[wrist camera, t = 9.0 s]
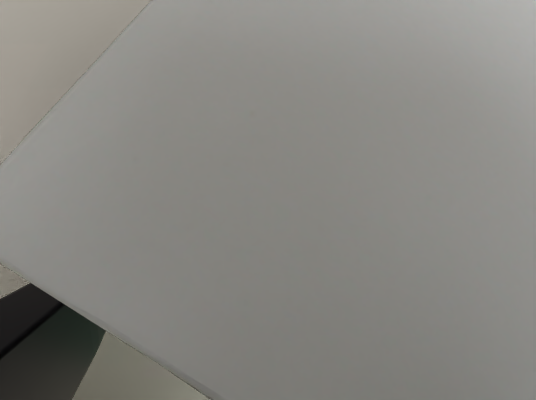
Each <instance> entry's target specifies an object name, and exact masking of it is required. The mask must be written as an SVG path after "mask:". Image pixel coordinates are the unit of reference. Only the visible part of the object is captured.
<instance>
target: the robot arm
mask: <svg viewBox="0 0 536 400" xmlns="http://www.w3.org/2000/svg"><path fill="white" fill-rule="evenodd" d="M105 331H106V330H104V329H103V328H101V327H99V326H98V325H96V324H95V323H93V322H92V321H90V320H88V319H87V318H85V317H84V316H82V315H81V314H79V313H77V312H76V311H74V310H73V309H71V308H70V307H68V306H66V305H65V304H63V303H62V302H60V301H59V300H57V299H55V298H54V297H52V296H51V295H49V294H48V293H46V292H44V291H43V290H41V289H40V288H38V287H37V286H35V285H33V284H32V283H29V284H28V285H26V286H24V287H22V288H20V289H18V290H16V291H14V292H12V293H11V294H9V295H7V296H5V297H3V298H1V299H0V400H72V398H73V396H74V394H75V392H76V390H77V388H78V387H79V385H80V383H81V381H82V379H83V377H84V375H85V373H86V371H87V369H88V367H89V366H90V364H91V362H92V360H93V358H94V356H95V354H96V352H97V350H98V348H99V346H100V343H101V341H102V339H103V336H104V334H105Z"/></svg>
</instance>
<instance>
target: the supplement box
mask: <svg viewBox="0 0 536 400" xmlns="http://www.w3.org/2000/svg"><path fill="white" fill-rule="evenodd" d="M0 263H1V264H2V265H4V266H5V267H7V268H8V269H10V270H11V271H13V272H15V273H16V274H18V275H19V276H21V277H22V278H24V279H25V280H27V281H29V282H30V283H32V284H33V285H35V286H37V287H38V288H40V289H41V290H43V291H44V292H46V293H48V294H49V295H51V296H52V297H54V298H55V299H57V300H59V301H60V302H62V303H63V304H65V305H66V306H68V307H70V308H71V309H73V310H74V311H76V312H77V313H79V314H81V315H82V316H84V317H85V318H87V319H88V320H90V321H92V322H93V323H95V324H96V325H98V326H99V327H101V328H103V329H104V330H106V331H107V332H109V333H110V334H112V335H114V336H115V337H117V338H118V339H120V340H121V341H123V342H125V343H126V344H128V345H129V346H131V347H133V348H134V349H136V350H137V351H139V352H140V353H142V354H144V355H145V356H147V357H148V358H150V359H151V360H153V361H155V362H156V363H158V364H159V365H161V366H162V367H164V368H165V369H167V370H168V371H170V372H171V373H172V374H174V375H175V376H177V377H178V378H180V379H181V380H183V381H184V382H186V383H187V384H189V385H190V386H191V387H193V388H194V389H196V390H197V391H199V392H200V393H202V394H203V395H205V396H206V397H208V398H209V399H210V400H536V0H151V1H150V2H149V3H148V4H147V5H146V7H145V8H144V9H143V10H142V11H141V12H140V13H139V14H138V15H137V16H136V17H135V19H134V20H133V21H132V22H131V23H130V24H129V25H128V26H127V27H126V28H125V30H124V31H123V32H122V33H121V34H120V35H119V36H118V37H117V38H116V39H115V40H114V42H113V43H112V44H111V45H110V46H109V47H108V48H107V49H106V50H105V51H104V52H103V54H102V55H101V56H100V57H99V58H98V59H97V60H96V61H95V62H94V63H93V64H92V66H91V67H90V68H89V69H88V70H87V71H86V72H85V73H84V74H83V75H82V76H81V77H80V78H79V79H78V81H77V82H76V83H75V84H74V85H73V86H72V87H71V88H70V89H69V90H68V91H67V92H66V93H65V95H64V96H63V97H62V98H61V99H60V100H59V101H58V102H57V103H56V104H55V105H54V106H53V107H52V108H51V110H50V111H49V112H48V113H47V114H46V115H45V116H44V117H43V118H42V119H41V120H40V121H39V122H38V124H37V125H36V126H35V127H34V128H33V129H32V130H31V131H30V132H29V133H28V134H27V135H26V136H25V138H24V139H23V140H22V141H21V142H20V143H19V145H18V146H17V147H16V148H15V149H14V150H13V151H12V153H11V154H10V155H9V156H8V157H7V158H6V159H5V160H4V161H3V162H2V163H1V164H0Z"/></svg>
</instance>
